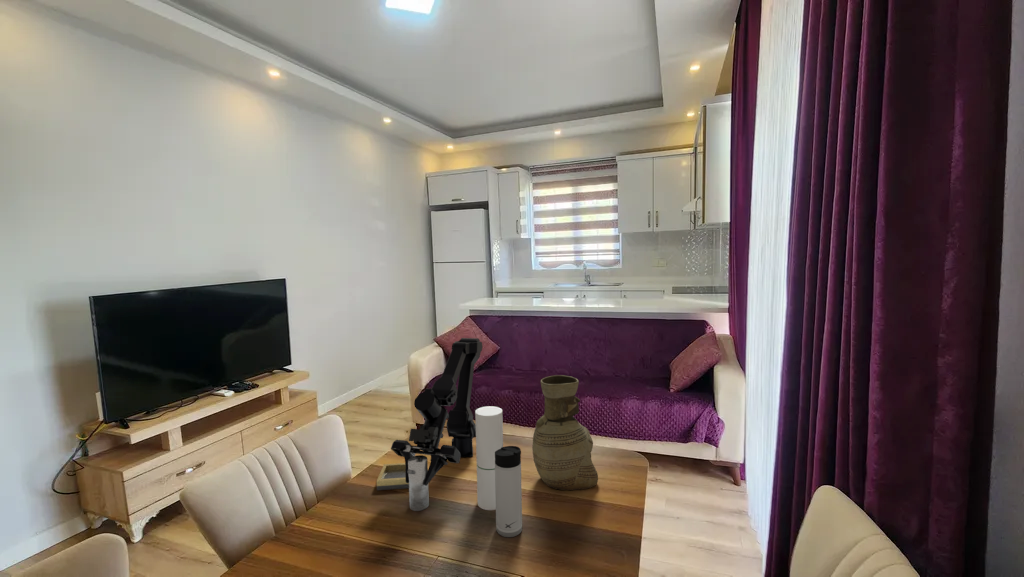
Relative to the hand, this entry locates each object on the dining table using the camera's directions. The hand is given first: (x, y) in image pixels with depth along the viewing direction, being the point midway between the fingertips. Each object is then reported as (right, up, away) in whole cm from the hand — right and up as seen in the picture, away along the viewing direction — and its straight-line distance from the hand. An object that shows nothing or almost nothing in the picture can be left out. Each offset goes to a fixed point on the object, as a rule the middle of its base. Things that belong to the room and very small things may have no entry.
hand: (415, 484), depth 109 cm
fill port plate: (-9, -6, +15) cm, 18 cm away
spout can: (0, -7, +1) cm, 7 cm away
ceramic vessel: (+41, -5, +14) cm, 43 cm away
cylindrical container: (+20, -6, +3) cm, 21 cm away
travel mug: (+25, -7, -9) cm, 27 cm away
